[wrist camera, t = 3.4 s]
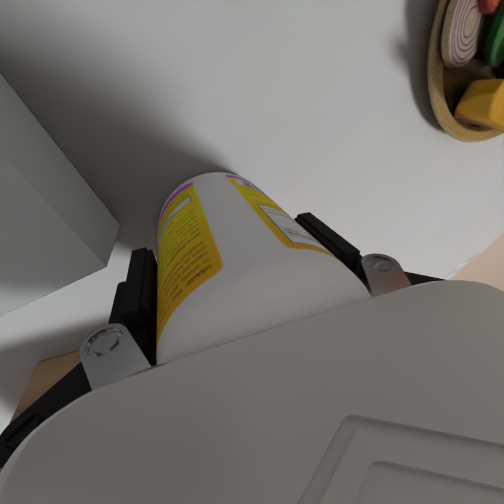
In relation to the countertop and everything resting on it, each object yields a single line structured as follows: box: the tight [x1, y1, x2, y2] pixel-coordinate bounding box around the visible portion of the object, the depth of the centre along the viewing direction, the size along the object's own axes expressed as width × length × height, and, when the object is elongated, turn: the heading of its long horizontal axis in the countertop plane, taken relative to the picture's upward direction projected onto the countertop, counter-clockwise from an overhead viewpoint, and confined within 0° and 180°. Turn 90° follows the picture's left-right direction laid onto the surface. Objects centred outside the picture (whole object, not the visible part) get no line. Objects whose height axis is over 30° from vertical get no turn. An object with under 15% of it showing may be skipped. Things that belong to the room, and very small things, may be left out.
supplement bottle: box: [156, 172, 371, 365], centre depth 10 cm, size 7×7×13 cm
